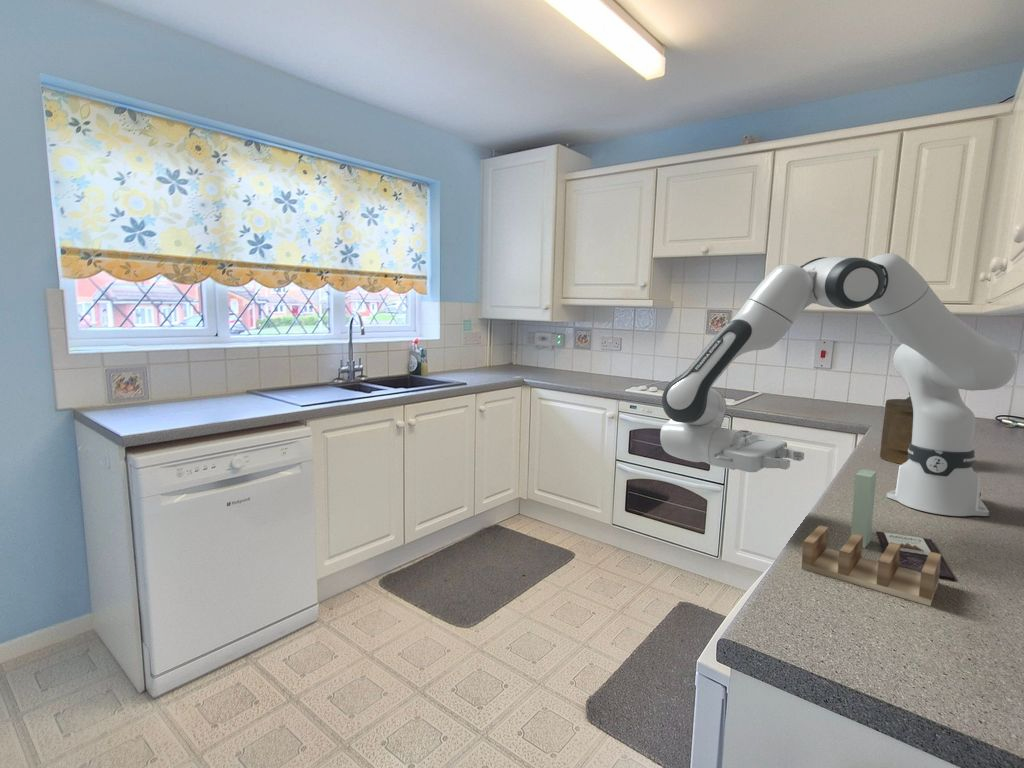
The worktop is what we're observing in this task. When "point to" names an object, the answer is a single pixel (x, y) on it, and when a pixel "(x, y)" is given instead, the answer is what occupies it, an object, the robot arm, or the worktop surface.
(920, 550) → the chocolate bar
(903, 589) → the rack
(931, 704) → the worktop surface
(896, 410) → the wooden container
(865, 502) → the tall mint green block
